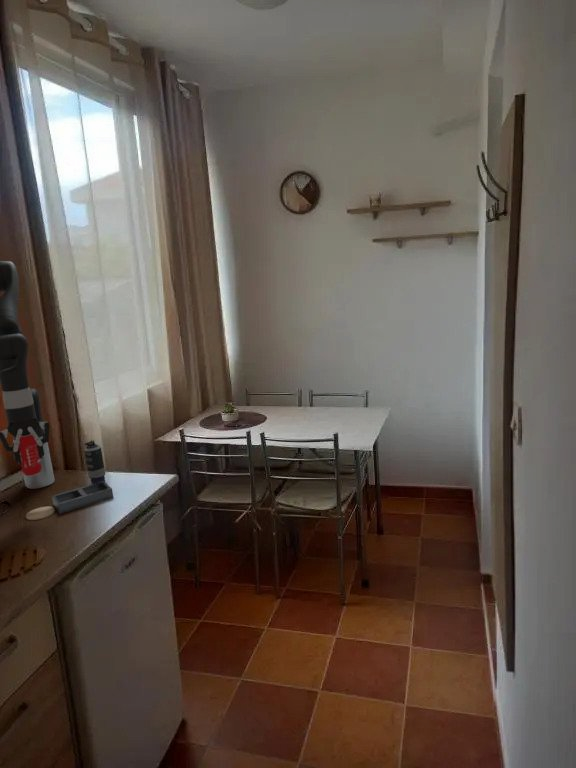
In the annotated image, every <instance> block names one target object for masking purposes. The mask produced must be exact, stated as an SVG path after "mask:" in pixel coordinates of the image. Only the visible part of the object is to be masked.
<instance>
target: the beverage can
mask: <svg viewBox="0 0 576 768" xmlns="http://www.w3.org/2000/svg"><path fill="white" fill-rule="evenodd" d="M19 442H20V444H19V447H18V451H19V453H20V458H21V464H20V466H21V471H22V474H23V473H24V474H25V475H26V476H31V475H35V474H38V473H40V472H41V468H42V467H41V461H40V456H39V451H38V446H37V442H36V440H35V439H34V436H33V435H32V434H29V435H22V436H20V439H19Z"/></svg>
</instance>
